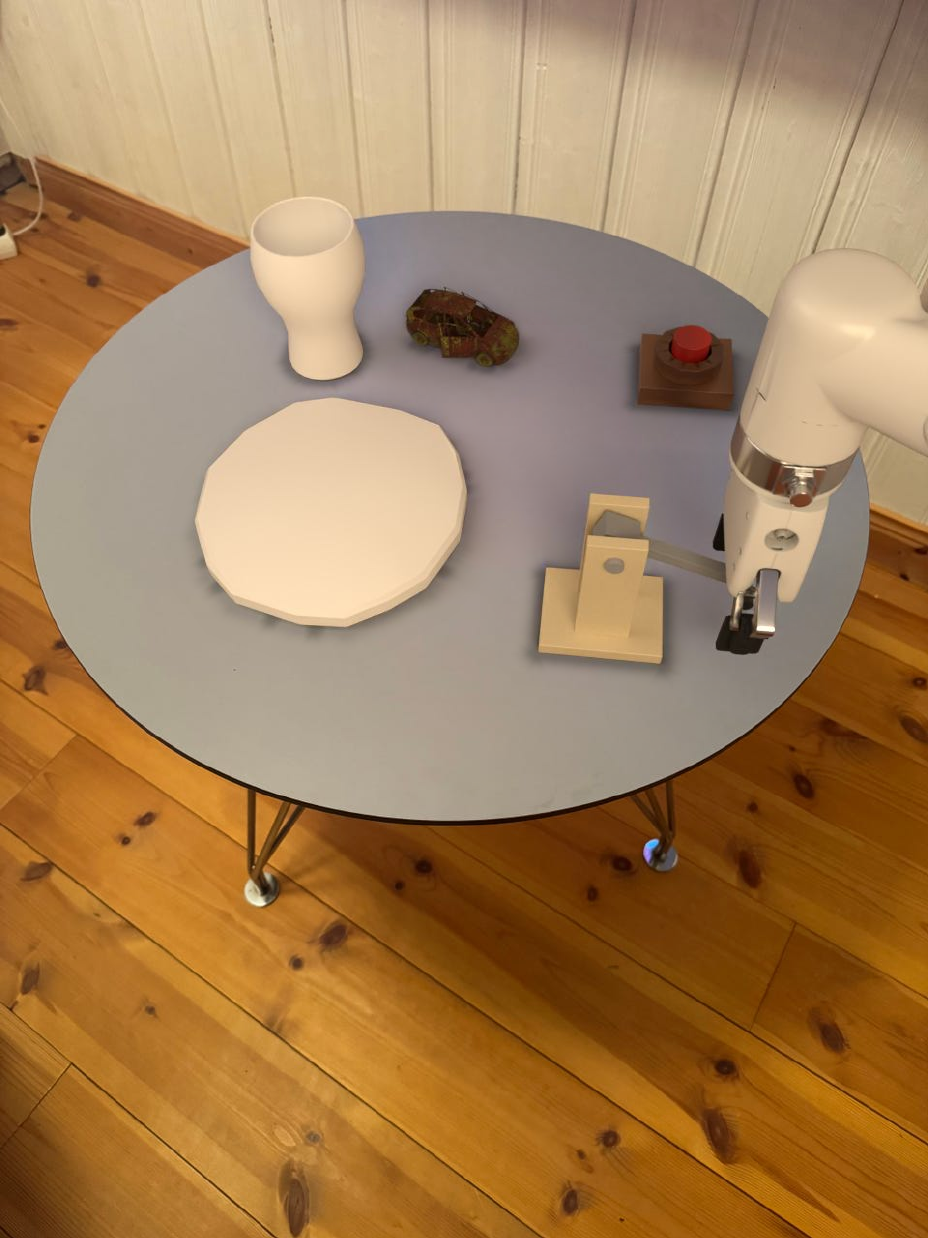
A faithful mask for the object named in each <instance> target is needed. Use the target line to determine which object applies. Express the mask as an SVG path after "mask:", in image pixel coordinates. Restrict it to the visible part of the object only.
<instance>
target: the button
mask: <svg viewBox="0 0 928 1238" xmlns="http://www.w3.org/2000/svg"><path fill="white" fill-rule="evenodd" d="M682 326H683V327H682ZM682 326H681V327H680V326H679V327H680V328H679V329H677V330H676V332H675V333H674V337H673V342H672V347H671V352H672V354H673V356H674V357H675V358H676V359H678V360H681V361H683V362H685V363H698V362H701V361H703V360H704V359H705V358H706V357H707V356H708V352H709V348H710V344H711V335H710V333H709V332H710V331H708V330H707V329H706V328H704V327H702V326H699V325H696V324H695V325H694V324H688V325H687V324H686V325H682Z"/></svg>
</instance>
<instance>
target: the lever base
mask: <svg viewBox="0 0 928 1238" xmlns="http://www.w3.org/2000/svg"><path fill="white" fill-rule="evenodd" d="M606 511H610V512H613V513H615V514H618V515H621V516H624V517H627V518H630V519H633V520H636V521H639V522H640V535H643V536H644V534H645V530H646V526H647V521H648V516H649V512H650V498H649V497H643V496H630V495H619V494H604V493H593V492H590V493H589V500H588V507H587V514H586V521H585V528H584V537H583V544H582V550H581V558H580V564H579V565H580V566H579V569H574V568H573V569H571V568H563V567H562V568H561V567H549V566H547V567H545V573H544V575H545V577H544V585H543V587H544V588H543V598H542V605H541V606H542V607H541V618H540V628H539V637H538V638H539V639H538V649H537V651H538V653H542V654H552V655H561V656H563V655H564V656H573V657H585V658H594V659H607V660H614V661H615V660H616V661H627V662H628V661H629V662H637V663H648V664H657V665H659V664H661V663H662V659H663V653H664V652H663V651H664V649H663V648H664V643H663V642H664V636H663V635H664V630H663V629H664V577H663V576H654V575H644V573H645V568H646V563H647V559H648V557H647V555H648V551H649V540H642V539H630V538H618V537H606V536H593V528H594V527H595V525H596V524H597V523H598V522H599V520H600V519H601V518H602V517H603V515H604V514H605V513H606Z"/></svg>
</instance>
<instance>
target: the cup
mask: <svg viewBox="0 0 928 1238" xmlns="http://www.w3.org/2000/svg"><path fill="white" fill-rule="evenodd" d="M249 254H250V255H249V256H250V264H251V267H252V271H253V275H254V279H255V281H256V284H257V287H258V288H259V290H260V292H262V295H263V296H264V298H265V300H266V301H267V303H268V304H269V305H270V306H271V307H272V309H273V310H274V311H276V313H277V314H278V315H279V316H280V317H281V318H282V320H283V323H284V326H285V327H286V330H287V332H288V333H287V334H288V339H287V340H288V357H289V358H288V360H289V363H290V365H291V368H292V369H293V370H294V371H295V372H296V373H297V374H299V375H301V376H302V377H304V378H308V379H310V380H317V381H328V380H329V381H330V380H335V379H338V378H342V377H344V376H346V375H348V374H350V373H351V372H353V371H354V370H355V369H356V368H358V366H359V365H360V364H361V362H362V360H363V356H364V348H363V344H362V341H361V337H360V334H359V331H358V329H357V326H356V324H355V323H356V322H355V307H356V304H357V301H358V299H359V297H360V295H361V292H362V289H363V284H364V280H365V274H366V268H367V267H366V255H365V248H364V240H363V239H362V236H361V234H360V231H359V228H358V225H357V223H356V221H355V219H354V217H353V215H352V213H351V211H350V210H349V209H348V208H347V207H346V206H345V205H344V204H342V203H340V202H338V201H336V200H334V199H330V198H327V197H323V196H312V195H306V196H295V197H291V198H286V199H282V200H280V201H277V202H275V203H273V204H271V205H269V206H268V207H265V208H264V209H263V210H262V211H260V213H258V215H257V216H256V217H255V218H254V220H253V222H252V224H251V225H250V253H249Z"/></svg>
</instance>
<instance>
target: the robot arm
mask: <svg viewBox="0 0 928 1238" xmlns="http://www.w3.org/2000/svg"><path fill="white" fill-rule="evenodd" d="M921 289H922V290H921V292H920V291H919V289H918V286H917V283H916V282H915V280H914V278H913V277H912V276H911V275H910V273H909V272H907V270H906V269H904V268H903V267H902V266H901V265H900V264H898V263H896V262H895V261H893V259H890V258H888V257H886V256H884V255H882V254H879V253H876V252H874V251H871V250H865V249H860V248H850V247H837V248H829V249H824V250H820V251H816V252H814V253H811V254H809V255H807V256H805V257H804V258H801V259H800V260H799V261H798V262H796V264H794V265H792V267H791V268H790V269H789V270H788V271H787V273H786V274H785V275H784V277H783V279H782V280H781V282H780V284H779V286H778V289H777V292H776V294H775V297H774V299H773V303H772V306H771V309H770V313H769V316H768V319H767V323H766V326H765V330H764V332H763V334H762V335H763V336H762V339H761V342H760V345H759V349H758V351H757V355H756V358H755V362H754V364H753V368H752V371H751V375H750V378H749V382H748V385H747V389H746V391H745V394H744V398H743V401H742V404H741V408H740V410H739V414H738V417H737V421H736V424H735V427H734V429H733V433H732V436H731V440H730V443H729V445H728V452H727V453H728V461H729V465H730V467H731V471H730V475H729V478H728V481H727V484H726V489H725V493H724V501H723V513H721V515H720V518H719V521H718V523H717V527H716V530H715V534H714V537H713V540H712V549H713V550H714V551H716V552H724V563H725V566H726V582H727V584H726V589H727V592H728V593H729V594H730V595H731V596H732V597H733V598H732V603H731V611H730V614H728V615H725V617H724V618H723V619H724V620H723V622H722V624H721V627H720V630H719V632H718V634H717V638H716V639H715V650H716V651H720V652H729V653H730V654H733V655H739V656H745V655H749V654H751V655H756V654H758V653H759V652H760V650H761V648H762V645H763V643H764V641H765V640H769V639H770V638H772V637H774V635H775V631H776V622H777V621H776V620H777V605H778V602H779V603H792V602H793V601H795V599H796V598H797V596H798V594H799V592H800V590H801V588H802V586H803V584H804V581H805V578H806V576H807V574H808V571H809V569H810V566H811V563H812V560H813V558H814V555H815V553H816V550H817V547H818V545H819V541H820V538H821V535H822V531H823V528H824V525H825V521H826V517H827V514H828V508H829V502H830V496H831V495H833V494H834V493H835V492H836V491H837V490H838V489H839V488H840V487H841V486H842V484H843V483H844V481H845V479H846V477H847V475H848V472H849V471H850V468H851V466H852V464H853V462H854V459H855V458H856V455H857V454H858V452H859V449H860V448H861V445H862V443H863V441H864V438H865V436H866V435H867V432H868V430H869V429H871V430H873V431H875V432H877V433H879V434H881V435H883V436H885V437H887V438H888V439H891V440H893V441H894V442H897V443H898V444H900V445H901V446H904V447H906V448H908V449H910V450H912V451H914V452H916V453H917V454H920V455H922V456H924V457H926V458H928V277H927V279H926V281H925V282H924V284H923V287H922V288H921ZM754 582H755V586H753V587H751V586H752V585H754ZM744 598H753V600H754V606H753V613H747V612H743V610H742V609H743V602H744Z"/></svg>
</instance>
